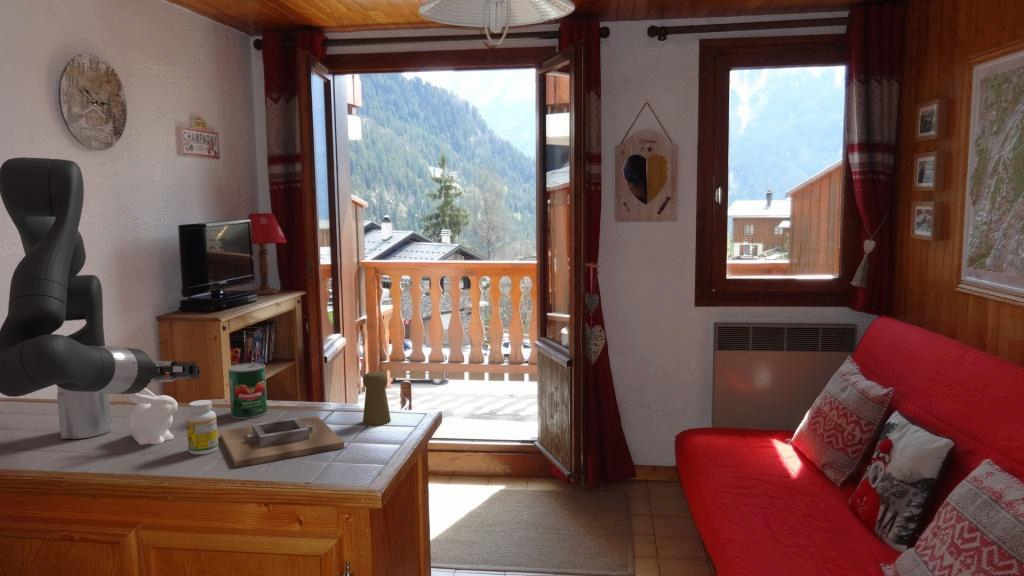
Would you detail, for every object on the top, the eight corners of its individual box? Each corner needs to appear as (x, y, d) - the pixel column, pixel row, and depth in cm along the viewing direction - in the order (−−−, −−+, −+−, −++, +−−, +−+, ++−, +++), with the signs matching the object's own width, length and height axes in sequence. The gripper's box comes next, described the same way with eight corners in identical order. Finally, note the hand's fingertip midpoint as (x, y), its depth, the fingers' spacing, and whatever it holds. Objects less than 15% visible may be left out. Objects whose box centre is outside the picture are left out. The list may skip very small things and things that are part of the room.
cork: (384, 426, 155) (383, 376, 153) (358, 425, 156) (356, 375, 155) (394, 418, 161) (393, 369, 159) (369, 416, 162) (367, 368, 160)
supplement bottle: (218, 452, 140) (215, 404, 139) (188, 457, 138) (184, 407, 137) (218, 444, 145) (215, 397, 144) (188, 448, 143) (185, 400, 142)
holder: (235, 467, 132) (234, 450, 132) (220, 436, 149) (219, 421, 149) (344, 447, 142) (343, 432, 141) (318, 421, 159) (317, 407, 159)
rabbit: (185, 439, 148) (181, 382, 146) (138, 452, 141) (133, 392, 139) (156, 429, 155) (152, 374, 154) (110, 440, 148) (105, 383, 147)
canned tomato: (245, 421, 160) (242, 372, 159) (223, 415, 164) (220, 368, 163) (275, 412, 166) (272, 365, 165) (252, 407, 171) (250, 361, 169)
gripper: (156, 343, 116) (212, 350, 132) (75, 349, 118) (140, 356, 134) (155, 390, 115) (212, 392, 131) (73, 396, 117) (139, 397, 133)
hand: (175, 373), depth 132 cm, fingers open, 8 cm apart
